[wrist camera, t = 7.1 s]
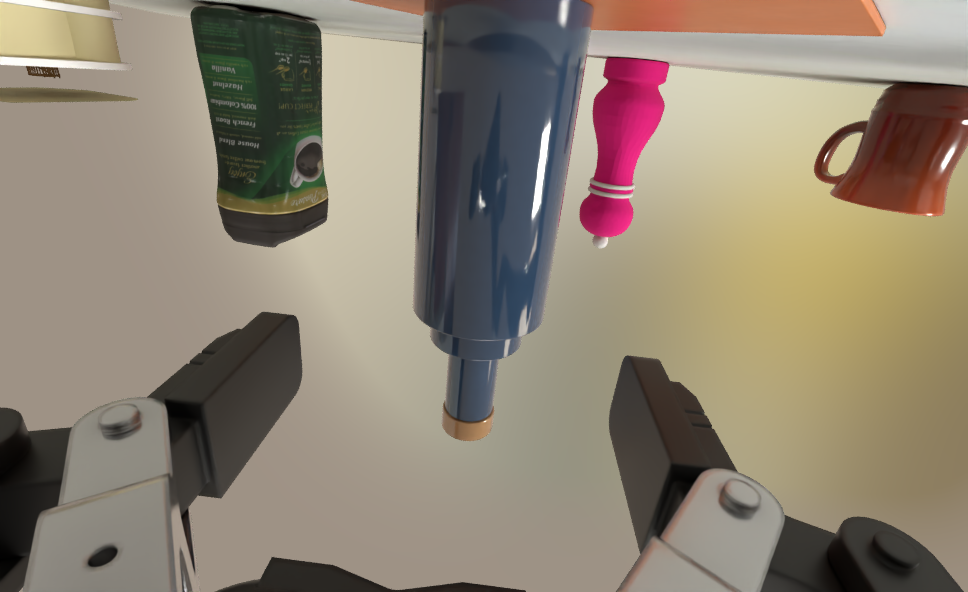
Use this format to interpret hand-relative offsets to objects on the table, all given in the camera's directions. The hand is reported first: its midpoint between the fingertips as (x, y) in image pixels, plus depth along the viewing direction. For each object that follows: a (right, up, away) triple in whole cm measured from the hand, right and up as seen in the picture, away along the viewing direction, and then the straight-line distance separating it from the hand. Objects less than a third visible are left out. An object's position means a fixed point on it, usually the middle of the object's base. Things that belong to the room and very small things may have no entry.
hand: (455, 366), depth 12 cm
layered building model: (-18, +16, +7) cm, 25 cm away
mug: (+39, +21, +30) cm, 54 cm away
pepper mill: (+16, +26, +36) cm, 47 cm away
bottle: (+2, +13, +6) cm, 14 cm away
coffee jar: (-17, +24, +26) cm, 39 cm away
